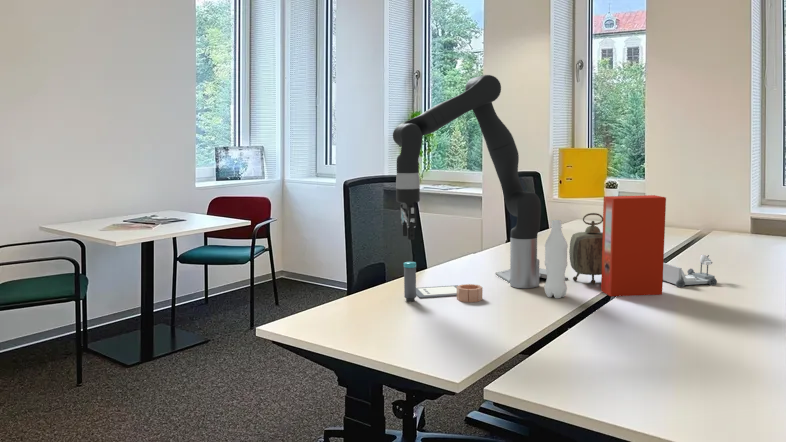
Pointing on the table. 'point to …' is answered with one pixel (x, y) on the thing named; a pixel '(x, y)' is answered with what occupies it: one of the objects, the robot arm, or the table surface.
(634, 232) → the file binder
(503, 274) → the gadget
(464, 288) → the pen cup
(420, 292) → the grey tablet
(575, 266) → the tabletop clock
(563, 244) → the water bottle
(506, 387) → the table surface
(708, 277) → the toy car
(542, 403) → the table surface
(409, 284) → the marker
